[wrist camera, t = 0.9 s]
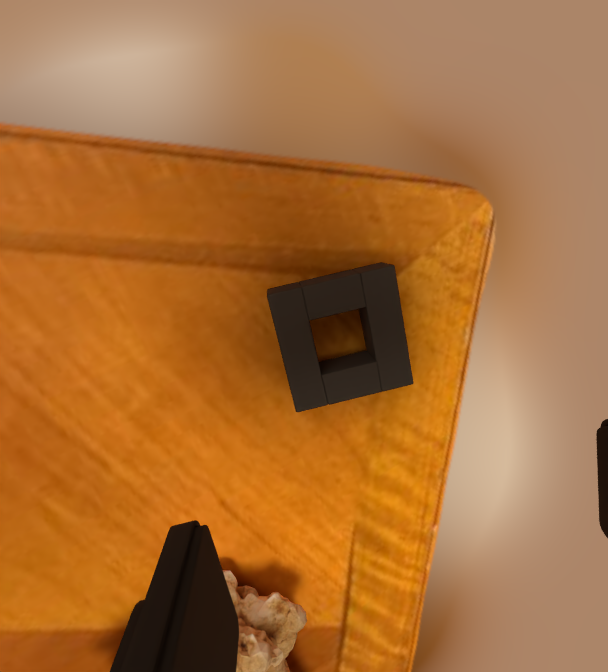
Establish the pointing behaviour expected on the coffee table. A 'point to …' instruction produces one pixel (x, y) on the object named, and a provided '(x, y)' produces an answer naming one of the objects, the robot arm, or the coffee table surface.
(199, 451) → the coffee table surface
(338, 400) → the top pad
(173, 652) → the robot arm
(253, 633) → the mineral formation
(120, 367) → the coffee table surface
